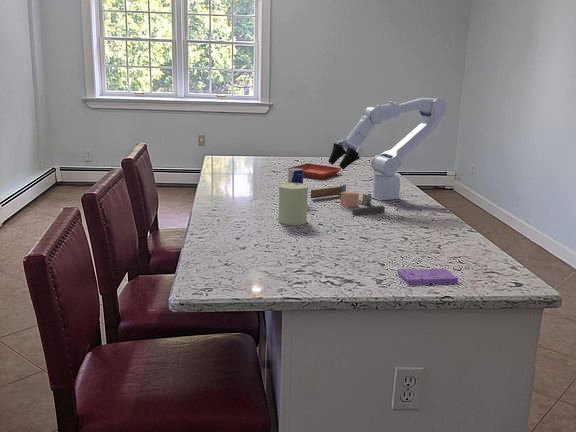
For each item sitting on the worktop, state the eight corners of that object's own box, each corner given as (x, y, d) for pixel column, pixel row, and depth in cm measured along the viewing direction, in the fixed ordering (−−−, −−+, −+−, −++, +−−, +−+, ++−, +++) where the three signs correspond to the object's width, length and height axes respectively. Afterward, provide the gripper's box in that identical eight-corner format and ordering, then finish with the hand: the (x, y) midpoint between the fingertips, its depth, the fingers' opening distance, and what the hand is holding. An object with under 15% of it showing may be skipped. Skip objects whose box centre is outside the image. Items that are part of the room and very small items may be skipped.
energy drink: (300, 204, 214) (302, 170, 211) (286, 203, 215) (287, 169, 212) (303, 200, 219) (304, 168, 216) (289, 199, 220) (290, 167, 217)
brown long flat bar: (339, 194, 228) (340, 186, 227) (312, 198, 221) (312, 190, 220) (337, 194, 229) (338, 186, 228) (310, 197, 222) (310, 189, 221)
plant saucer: (341, 174, 272) (342, 167, 272) (322, 181, 258) (322, 173, 257) (307, 170, 282) (307, 163, 281) (286, 175, 267) (286, 168, 266)
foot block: (351, 203, 218) (351, 191, 217) (358, 206, 214) (358, 193, 213) (340, 204, 216) (341, 192, 215) (347, 207, 212) (347, 194, 211)
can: (310, 219, 194) (312, 182, 191) (301, 226, 186) (303, 188, 183) (283, 216, 197) (284, 180, 194) (273, 223, 189) (274, 185, 186)
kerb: (381, 210, 208) (382, 205, 207) (384, 211, 207) (384, 206, 206) (352, 213, 203) (352, 208, 202) (354, 215, 201) (355, 209, 201)
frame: (345, 194, 232) (346, 184, 230) (374, 205, 215) (374, 194, 214) (337, 195, 230) (338, 184, 229) (365, 206, 214) (366, 195, 213)
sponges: (396, 276, 147) (397, 268, 147) (445, 274, 149) (446, 267, 148) (406, 286, 140) (407, 279, 140) (458, 285, 142) (458, 277, 142)
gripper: (341, 125, 221) (318, 154, 220) (362, 132, 208) (339, 163, 208) (352, 136, 224) (330, 165, 224) (374, 144, 212) (351, 175, 212)
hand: (335, 165), depth 216 cm, fingers open, 7 cm apart
